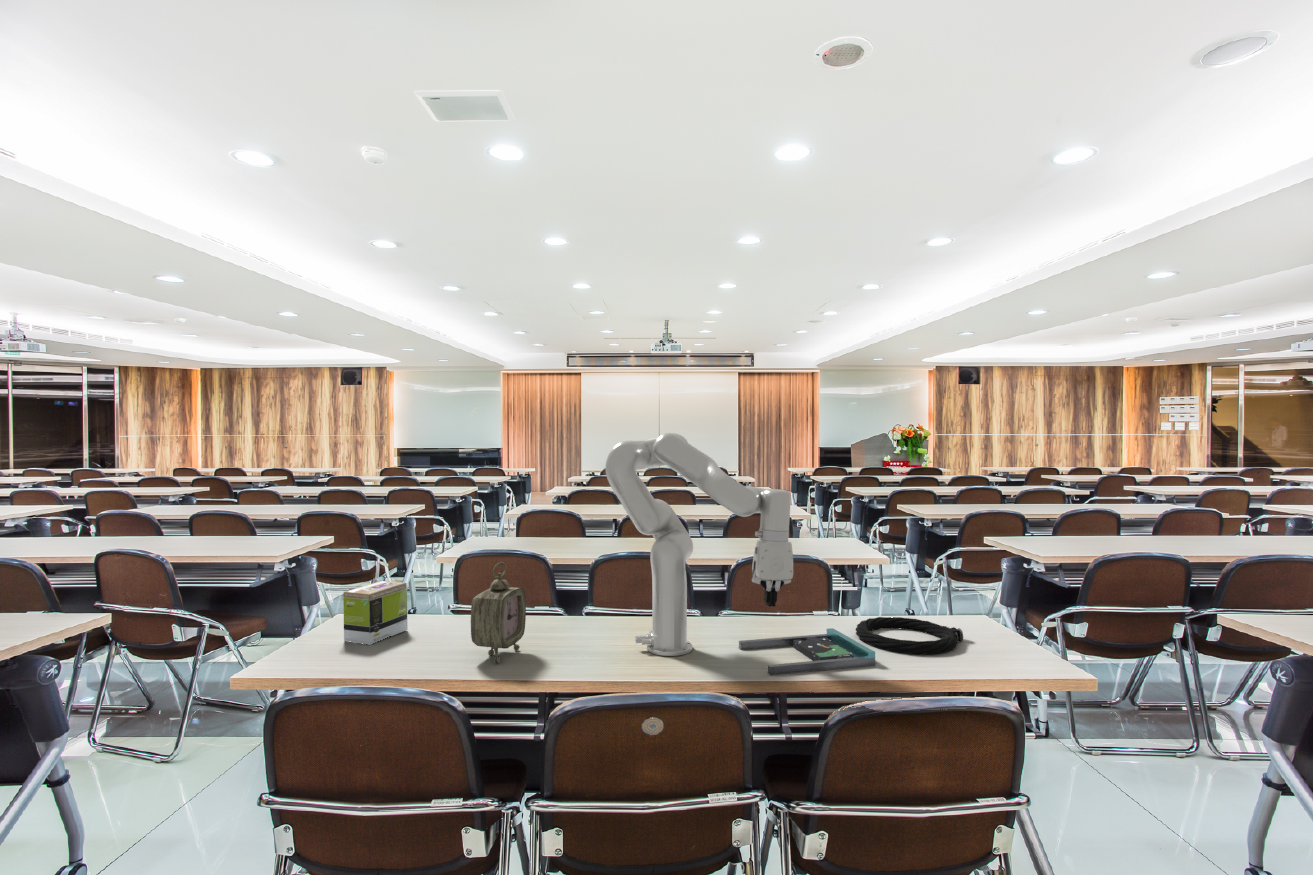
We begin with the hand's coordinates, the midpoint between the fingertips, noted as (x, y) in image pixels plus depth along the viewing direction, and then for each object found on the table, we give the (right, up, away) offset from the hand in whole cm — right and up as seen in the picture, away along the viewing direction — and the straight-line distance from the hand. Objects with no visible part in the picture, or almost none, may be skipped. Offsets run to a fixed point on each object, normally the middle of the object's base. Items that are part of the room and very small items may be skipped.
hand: (770, 605), depth 163 cm
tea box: (-113, -14, +18) cm, 115 cm away
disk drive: (+15, -15, +3) cm, 21 cm away
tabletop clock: (-72, -14, +1) cm, 74 cm away
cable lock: (+43, -15, +16) cm, 49 cm away
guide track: (+9, -14, +1) cm, 17 cm away
